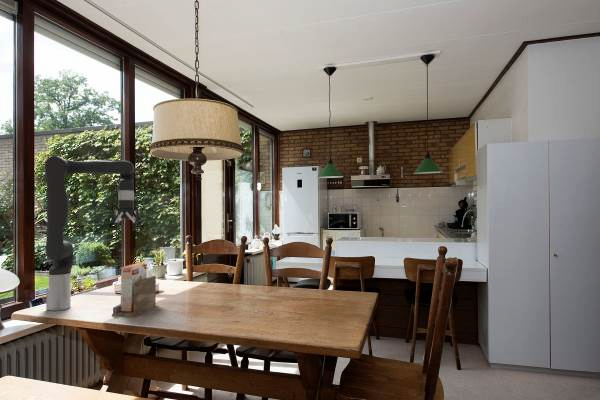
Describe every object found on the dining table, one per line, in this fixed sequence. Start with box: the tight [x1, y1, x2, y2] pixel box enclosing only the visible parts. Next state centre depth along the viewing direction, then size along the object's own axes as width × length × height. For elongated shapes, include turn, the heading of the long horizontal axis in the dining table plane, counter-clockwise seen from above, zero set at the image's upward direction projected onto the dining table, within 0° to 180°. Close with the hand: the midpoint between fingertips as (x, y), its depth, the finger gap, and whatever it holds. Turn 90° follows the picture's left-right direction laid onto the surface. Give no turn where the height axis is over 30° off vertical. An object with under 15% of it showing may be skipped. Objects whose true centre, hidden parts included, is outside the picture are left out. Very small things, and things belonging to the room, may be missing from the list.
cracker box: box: [120, 262, 148, 312], centre depth 181 cm, size 14×6×21 cm, turn 175°
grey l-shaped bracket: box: [111, 275, 157, 317], centre depth 180 cm, size 12×20×15 cm, turn 179°
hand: (126, 230), depth 194 cm, fingers open, 8 cm apart
